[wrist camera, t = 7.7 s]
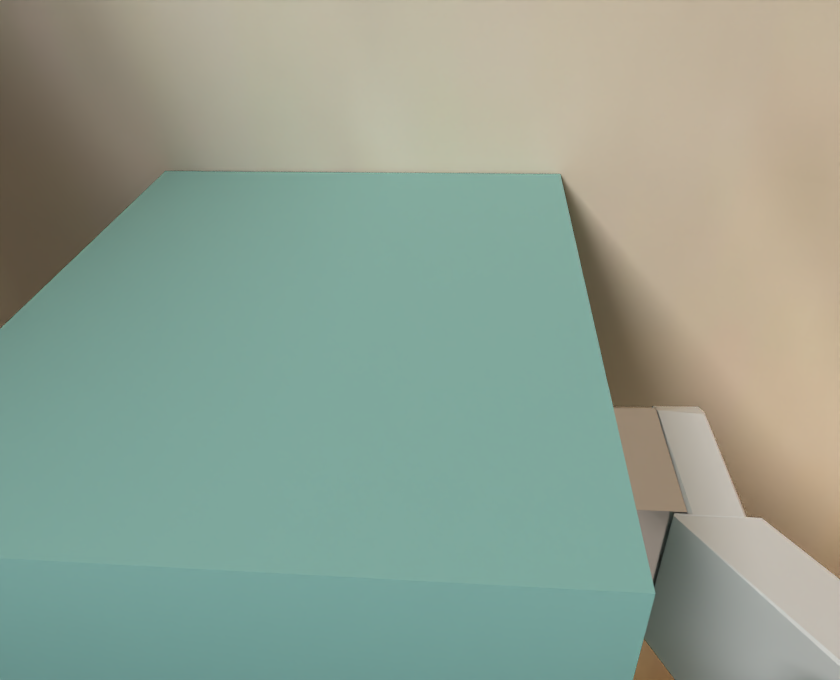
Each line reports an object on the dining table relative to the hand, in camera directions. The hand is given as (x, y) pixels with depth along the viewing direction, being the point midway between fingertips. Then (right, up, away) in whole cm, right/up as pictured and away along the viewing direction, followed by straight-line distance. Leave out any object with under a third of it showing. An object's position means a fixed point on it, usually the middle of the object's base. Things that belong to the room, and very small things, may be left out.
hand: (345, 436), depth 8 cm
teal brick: (0, +1, +2) cm, 2 cm away
